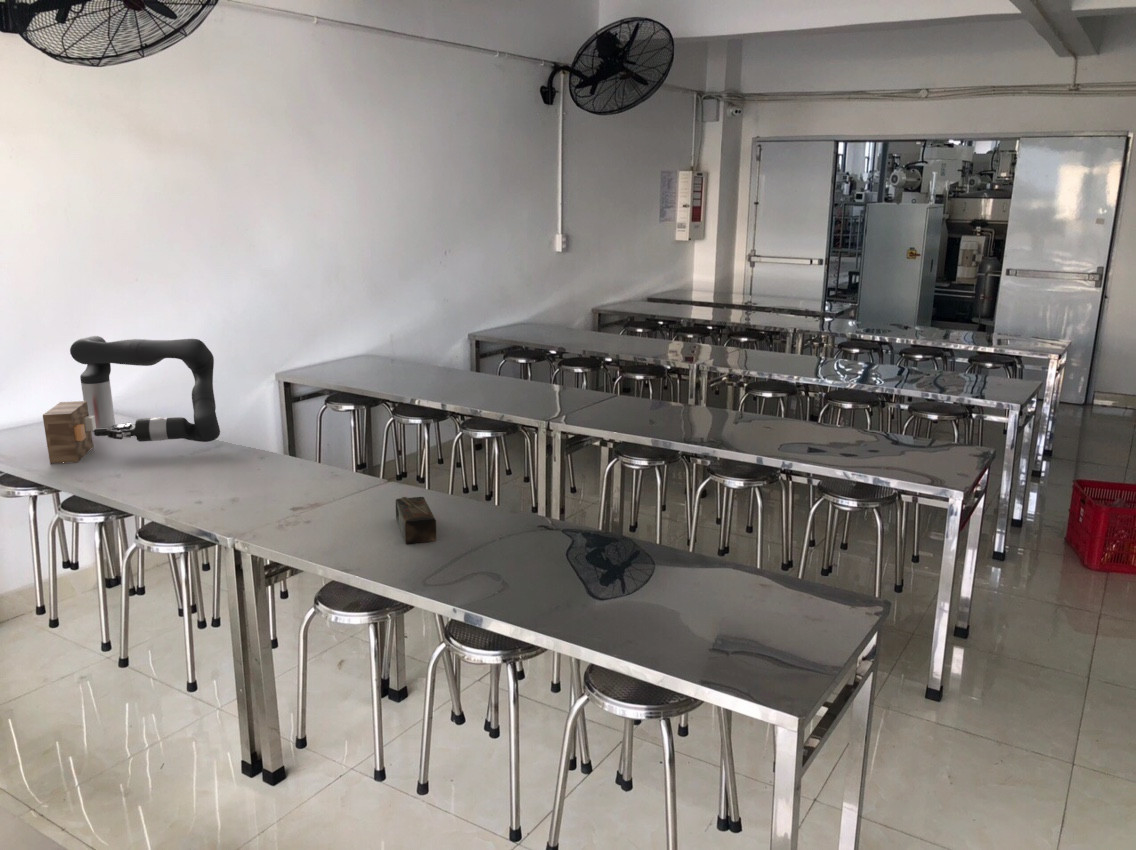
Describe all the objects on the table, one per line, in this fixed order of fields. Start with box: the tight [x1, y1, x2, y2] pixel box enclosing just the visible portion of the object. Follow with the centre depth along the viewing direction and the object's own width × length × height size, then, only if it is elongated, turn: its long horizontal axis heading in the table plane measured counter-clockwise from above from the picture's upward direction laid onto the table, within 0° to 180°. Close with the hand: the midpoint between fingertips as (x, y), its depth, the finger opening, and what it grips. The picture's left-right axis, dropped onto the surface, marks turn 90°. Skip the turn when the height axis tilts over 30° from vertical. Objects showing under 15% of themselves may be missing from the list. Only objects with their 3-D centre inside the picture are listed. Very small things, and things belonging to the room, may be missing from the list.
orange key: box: [74, 424, 86, 441], centre depth 285 cm, size 4×5×4 cm
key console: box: [42, 400, 94, 464], centre depth 290 cm, size 18×8×16 cm, turn 13°
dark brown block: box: [395, 496, 437, 545], centre depth 228 cm, size 8×19×7 cm, turn 18°
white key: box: [84, 416, 96, 432], centre depth 296 cm, size 4×5×4 cm
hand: (95, 432), depth 286 cm, fingers closed
